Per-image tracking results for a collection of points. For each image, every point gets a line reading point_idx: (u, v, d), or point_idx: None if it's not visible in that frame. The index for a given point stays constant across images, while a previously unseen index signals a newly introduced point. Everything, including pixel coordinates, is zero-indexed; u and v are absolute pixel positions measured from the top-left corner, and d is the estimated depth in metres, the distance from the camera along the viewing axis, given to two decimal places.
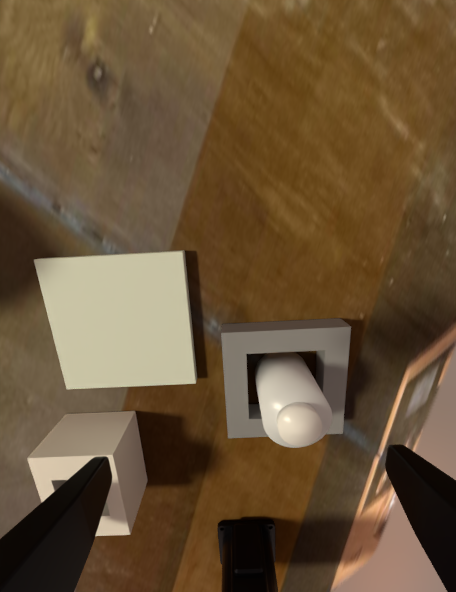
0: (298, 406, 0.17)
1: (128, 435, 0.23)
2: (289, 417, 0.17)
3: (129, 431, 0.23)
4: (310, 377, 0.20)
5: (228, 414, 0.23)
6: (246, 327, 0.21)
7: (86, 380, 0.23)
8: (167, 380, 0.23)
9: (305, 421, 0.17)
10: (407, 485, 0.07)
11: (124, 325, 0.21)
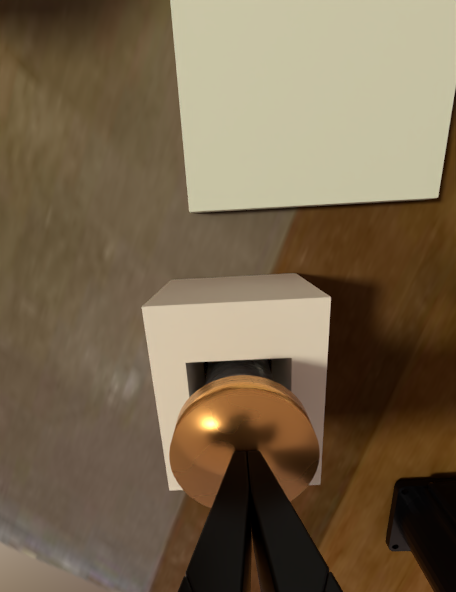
0: None
1: None
2: None
3: None
4: None
5: None
6: None
7: (230, 190, 0.12)
8: (385, 191, 0.12)
9: None
10: None
11: (327, 53, 0.11)
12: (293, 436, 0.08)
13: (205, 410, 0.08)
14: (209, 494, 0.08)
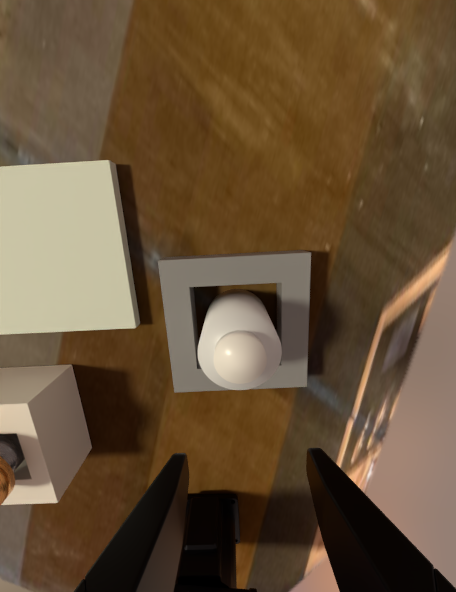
0: (237, 333, 0.14)
1: (58, 388, 0.20)
2: (225, 346, 0.14)
3: (59, 384, 0.20)
4: (260, 309, 0.16)
5: (172, 363, 0.19)
6: (190, 257, 0.18)
7: (9, 323, 0.20)
8: (102, 324, 0.20)
9: (245, 351, 0.14)
10: (316, 488, 0.07)
11: (47, 255, 0.18)
12: None
13: None
14: None
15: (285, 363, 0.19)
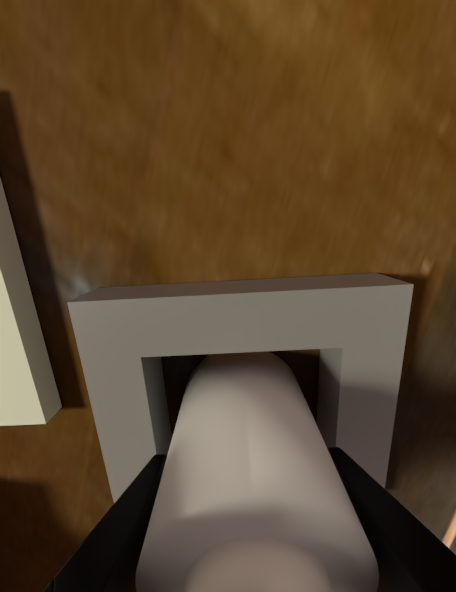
0: (253, 567, 0.04)
1: None
2: None
3: None
4: (304, 426, 0.07)
5: (116, 496, 0.10)
6: (145, 291, 0.09)
7: None
8: None
9: None
10: None
11: None
12: None
13: None
14: None
15: None
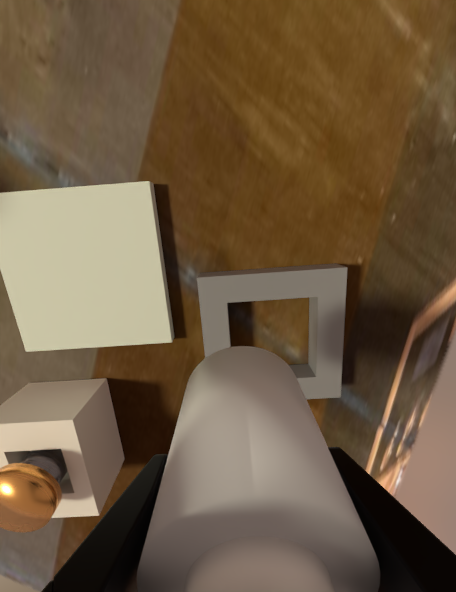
0: (254, 567, 0.04)
1: (96, 403, 0.20)
2: None
3: (97, 398, 0.21)
4: (305, 425, 0.07)
5: None
6: (227, 273, 0.19)
7: (47, 340, 0.20)
8: (139, 339, 0.20)
9: None
10: None
11: (87, 273, 0.19)
12: (35, 495, 0.16)
13: None
14: (3, 522, 0.17)
15: (320, 375, 0.20)
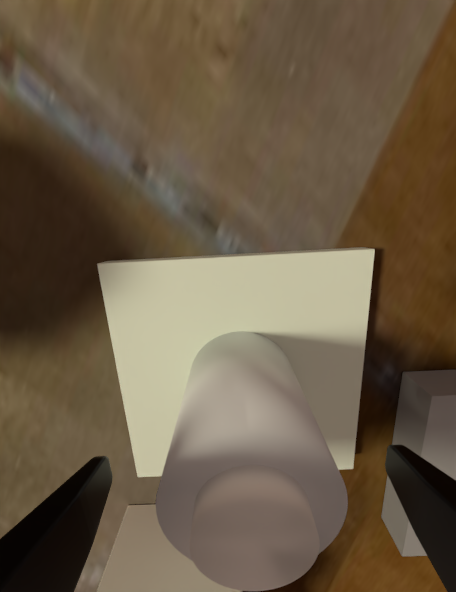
0: (248, 483, 0.06)
1: None
2: (219, 519, 0.06)
3: None
4: (292, 391, 0.08)
5: None
6: None
7: None
8: None
9: (268, 530, 0.06)
10: (407, 485, 0.07)
11: None
12: None
13: None
14: None
15: None
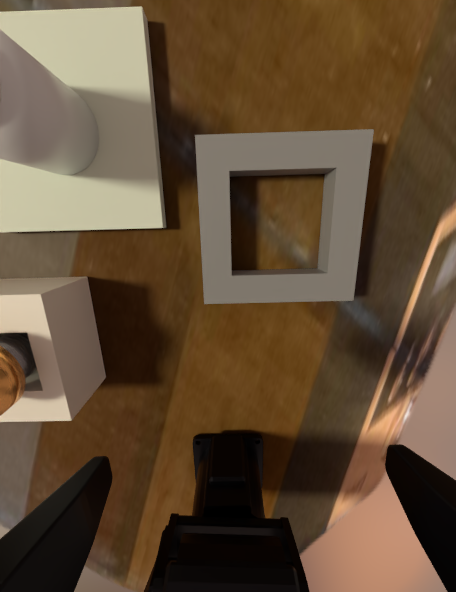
0: None
1: (73, 295, 0.18)
2: None
3: (74, 291, 0.18)
4: (31, 56, 0.12)
5: (204, 267, 0.17)
6: None
7: (18, 218, 0.17)
8: (125, 222, 0.17)
9: None
10: (407, 485, 0.07)
11: None
12: None
13: None
14: None
15: (332, 271, 0.17)
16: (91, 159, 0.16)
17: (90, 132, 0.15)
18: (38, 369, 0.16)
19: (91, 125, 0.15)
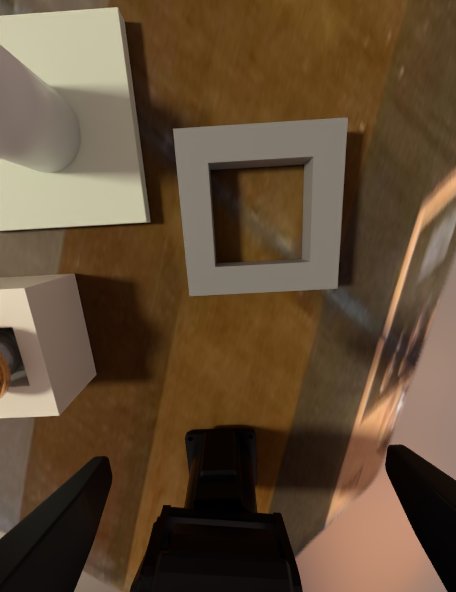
0: None
1: (59, 291, 0.18)
2: None
3: (61, 286, 0.18)
4: (10, 53, 0.12)
5: (188, 259, 0.17)
6: None
7: (4, 217, 0.18)
8: (109, 217, 0.18)
9: None
10: (407, 485, 0.07)
11: None
12: None
13: None
14: None
15: (314, 259, 0.17)
16: (72, 157, 0.16)
17: (71, 130, 0.15)
18: (24, 364, 0.16)
19: (72, 123, 0.15)
